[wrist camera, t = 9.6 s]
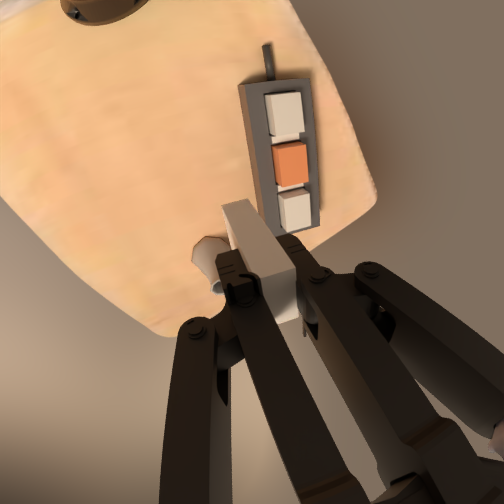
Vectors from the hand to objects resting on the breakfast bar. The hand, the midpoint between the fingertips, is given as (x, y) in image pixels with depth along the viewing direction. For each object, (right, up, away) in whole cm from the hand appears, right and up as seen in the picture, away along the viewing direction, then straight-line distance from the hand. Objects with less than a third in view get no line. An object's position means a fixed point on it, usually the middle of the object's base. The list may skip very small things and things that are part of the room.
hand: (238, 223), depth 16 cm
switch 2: (+6, +13, +27) cm, 31 cm away
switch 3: (+7, +7, +32) cm, 33 cm away
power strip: (+5, +17, +27) cm, 32 cm away
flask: (-7, -2, +36) cm, 36 cm away
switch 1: (+5, +20, +23) cm, 30 cm away
